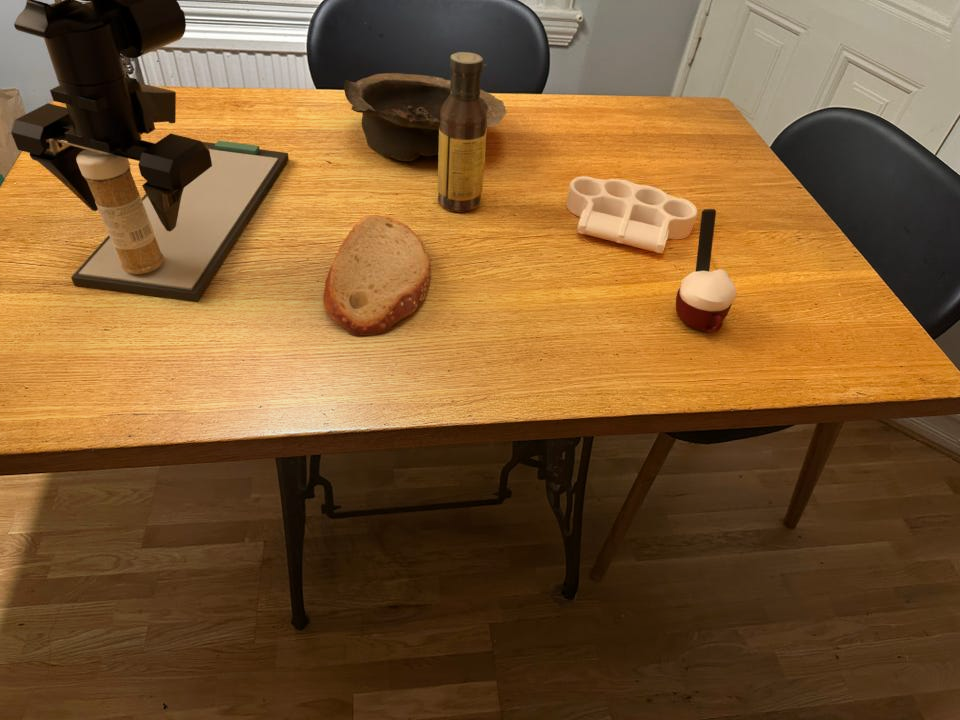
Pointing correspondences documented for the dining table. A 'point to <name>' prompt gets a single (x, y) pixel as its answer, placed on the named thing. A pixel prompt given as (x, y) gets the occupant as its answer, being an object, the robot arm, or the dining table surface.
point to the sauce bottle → (462, 136)
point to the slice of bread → (376, 276)
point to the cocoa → (705, 286)
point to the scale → (194, 226)
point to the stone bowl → (407, 112)
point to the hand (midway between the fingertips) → (133, 219)
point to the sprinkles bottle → (121, 210)
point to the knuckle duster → (629, 212)
